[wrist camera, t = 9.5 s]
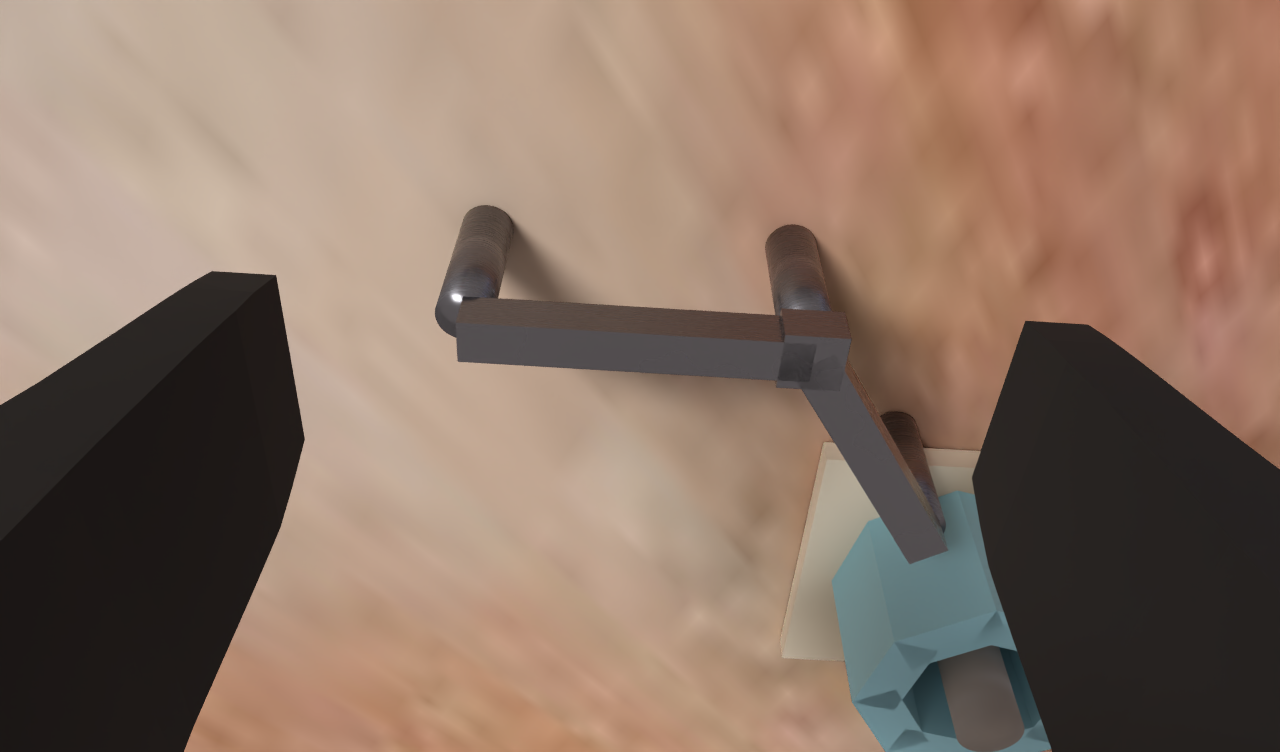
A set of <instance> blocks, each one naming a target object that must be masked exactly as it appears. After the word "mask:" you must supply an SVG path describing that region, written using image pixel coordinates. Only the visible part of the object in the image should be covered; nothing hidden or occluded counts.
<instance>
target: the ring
mask: <svg viewBox="0 0 1280 752" xmlns="http://www.w3.org/2000/svg"><path fill="white" fill-rule="evenodd" d="M938 499H939V502H940V505H941V509H942V512H943V515H944V519H945V522H946V529H945V532H944V533H943V534H944V538H945V541H946V544H947V548H948V551H946V552H943V553H940V554H937V555H934V556H932V557H929V558H926V559H923V560H920V561H917V562H915V563H912V564H909V563H908V561H907V560H906V558H905V556H904V555H903V553H902V552H901V550H900V548H899V547H898V545H897V543H896V542H895V540H894V539H893V537H892V535H891V534H890V532H889V530H888V529H887V527H886V526H885V524H884V522H883V521H882V519H881V517H879V518H876V519H873V520H870V521H868V522H867V524H866V525H865V527H864V529H863V530H862V532H861V534H860V535H859V537H858V538H857V540H856V542H855V543H854V545H853V547H852V548H851V550H850V551H849V553H848V555H847V556H846V558H845V560H844V561H843V563H842V565H841V566H840V568H839V569H838V571H837V573H836V574H835V576H834V578H833V579H832V587H833V593H834V599H835V605H836V610H837V616H838V622H839V628H840V634H841V640H842V646H843V652H844V658H845V664H846V669H847V675H848V681H849V687H850V693H851V699H852V703H853V704H854V706H855V707H856V709H857V710H858V712H859V713H860V715H861V716H862V718H863V719H864V721H865V722H866V724H867V725H868V726H869V728H870V729H871V731H872V732H873V734H874V735H875V737H876V738H877V740H878V741H879V743H880V744H881V746H882V747H883V749H884V750H885V752H976V751H972V750H969V749H966V748H964V747H963V746H961V745H960V744H959V742H958V741H957V738H956V734H955V730H954V726H953V722H952V718H951V714H950V710H949V706H948V702H947V698H946V695H945V691H944V687H943V683H942V679H941V675H940V671H939V667H938V663H937V661H939V660H943V659H946V658H949V657H953V656H956V655H960V654H963V653H966V652H970V651H973V650H976V649H980V648H983V647H987V646H990V645H993V646H997V647H999V648H1000V652H1001V655H1002V658H1003V661H1004V664H1005V667H1006V671H1007V674H1008V677H1009V680H1010V683H1011V686H1012V690H1013V693H1014V696H1015V699H1016V702H1017V705H1018V708H1019V712H1020V715H1021V718H1022V721H1023V724H1024V729H1025V730H1024V734H1023V736H1022V737H1021V739H1020V740H1019V741H1018V742H1016V743H1015V744H1013V745H1012V746H1010V747H1008V748H1005V749H1002V750H999V751H993V752H1041V751H1045V750H1049V749H1051V746H1050V743H1049V741H1048V738H1047V735H1046V732H1045V729H1044V726H1043V723H1042V721H1041V718H1040V715H1039V712H1038V709H1037V706H1036V703H1035V701H1034V698H1033V695H1032V692H1031V689H1030V686H1029V684H1028V681H1027V678H1026V675H1025V672H1024V669H1023V666H1022V664H1021V661H1020V658H1019V655H1018V652H1017V649H1016V646H1015V644H1014V641H1013V638H1012V635H1011V632H1010V629H1009V626H1008V623H1007V620H1006V617H1005V614H1004V611H1003V609H1002V606H1001V603H1000V600H999V597H998V594H997V591H996V588H995V585H994V582H993V579H992V576H991V572H990V569H989V566H988V561H987V557H986V552H985V547H984V542H983V538H982V533H981V528H980V523H979V517H978V511H977V505H976V500H975V495H974V494H970V493H966V492H962V491H958V490H957V491H954V492H952V493H949V494H946V495H943V496H940V497H938Z"/></svg>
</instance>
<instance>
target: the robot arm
mask: <svg viewBox="0 0 1280 752" xmlns="http://www.w3.org/2000/svg"><path fill="white" fill-rule="evenodd" d="M304 440H305V438H304V432H303V427H302V421H301V415H300V409H299V404H298V398H297V392H296V387H295V381H294V375H293V369H292V364H291V358H290V352H289V346H288V341H287V335H286V329H285V324H284V318H283V312H282V306H281V301H280V295H279V289H278V284H277V278H276V275H264V274H248V273H232V272H215V271H212V272H210V273H208V274H206V275H204V276H203V277H201V278H199V279H197V280H195V281H194V282H192V283H190V284H189V285H187V286H185V287H184V288H182V289H181V290H179V291H177V292H176V293H174V294H173V295H171V296H170V297H168V298H167V299H165V300H164V301H162V302H160V303H159V304H157V305H156V306H154V307H153V308H151V309H150V310H148V311H147V312H145V313H144V314H142V315H141V316H139V317H138V318H136V319H135V320H133V321H132V322H130V323H129V324H127V325H126V326H124V327H123V328H121V329H120V330H118V331H117V332H115V333H114V334H112V335H111V336H109V337H108V338H106V339H104V340H103V341H101V342H100V343H98V344H97V345H95V346H94V347H92V348H91V349H89V350H88V351H86V352H85V353H83V354H81V355H80V356H78V357H77V358H75V359H74V360H72V361H71V362H69V363H68V364H66V365H65V366H63V367H62V368H60V369H58V370H57V371H55V372H54V373H52V374H51V375H49V376H48V377H46V378H45V379H43V380H41V381H40V382H38V383H37V384H35V385H33V386H32V387H30V388H28V389H27V390H25V391H23V392H22V393H20V394H18V395H17V396H15V397H13V398H12V399H10V400H8V401H7V402H5V403H3V404H2V405H0V752H184V750H185V747H186V745H187V742H188V739H189V737H190V734H191V732H192V729H193V727H194V724H195V722H196V720H197V717H198V715H199V713H200V711H201V708H202V706H203V704H204V702H205V699H206V697H207V695H208V692H209V690H210V688H211V686H212V683H213V681H214V679H215V677H216V674H217V672H218V670H219V668H220V665H221V663H222V661H223V658H224V656H225V654H226V652H227V649H228V647H229V645H230V643H231V640H232V638H233V636H234V634H235V631H236V629H237V627H238V624H239V622H240V620H241V618H242V615H243V613H244V611H245V609H246V606H247V604H248V602H249V600H250V597H251V595H252V593H253V590H254V588H255V586H256V583H257V581H258V579H259V576H260V574H261V572H262V569H263V567H264V565H265V563H266V560H267V558H268V556H269V553H270V551H271V549H272V546H273V544H274V541H275V539H276V537H277V534H278V532H279V529H280V527H281V524H282V520H283V517H284V513H285V510H286V507H287V503H288V500H289V496H290V493H291V489H292V486H293V482H294V478H295V474H296V471H297V467H298V463H299V459H300V455H301V452H302V448H303V444H304ZM972 482H973V488H974V494H975V500H976V505H977V511H978V517H979V523H980V528H981V533H982V538H983V542H984V547H985V552H986V557H987V561H988V566H989V569H990V572H991V576H992V579H993V582H994V585H995V588H996V591H997V594H998V597H999V600H1000V603H1001V606H1002V609H1003V611H1004V614H1005V617H1006V620H1007V623H1008V626H1009V629H1010V632H1011V635H1012V638H1013V641H1014V644H1015V646H1016V649H1017V652H1018V655H1019V658H1020V661H1021V664H1022V666H1023V669H1024V672H1025V675H1026V678H1027V681H1028V684H1029V686H1030V689H1031V692H1032V695H1033V698H1034V701H1035V703H1036V706H1037V709H1038V712H1039V715H1040V718H1041V721H1042V723H1043V726H1044V729H1045V732H1046V735H1047V738H1048V741H1049V743H1050V746H1051V749H1052V752H1280V469H1278V468H1277V467H1276V466H1274V465H1273V464H1272V463H1270V462H1269V461H1268V460H1266V459H1265V458H1264V457H1262V456H1261V455H1260V454H1258V453H1257V452H1256V451H1254V450H1253V449H1252V448H1250V447H1249V446H1248V445H1247V444H1245V443H1244V442H1243V441H1241V440H1240V439H1239V438H1237V437H1236V436H1235V435H1234V434H1232V433H1231V432H1230V431H1228V430H1227V429H1226V428H1224V427H1223V426H1222V425H1221V424H1219V423H1218V422H1217V421H1215V420H1214V419H1213V418H1212V417H1210V416H1209V415H1208V414H1206V413H1205V412H1204V411H1203V410H1201V409H1200V408H1199V407H1198V406H1196V405H1195V404H1194V403H1192V402H1191V401H1190V400H1189V399H1187V398H1186V397H1185V396H1184V395H1182V394H1181V393H1180V392H1178V391H1177V390H1176V389H1175V388H1173V387H1172V386H1171V385H1170V384H1168V383H1167V382H1166V381H1164V380H1163V379H1162V378H1161V377H1159V376H1158V375H1157V374H1155V373H1154V372H1153V371H1152V370H1150V369H1149V368H1148V367H1146V366H1145V365H1144V364H1143V363H1141V362H1140V361H1139V360H1137V359H1136V358H1135V357H1133V356H1132V355H1131V354H1129V353H1128V352H1127V351H1125V350H1124V349H1123V348H1121V347H1120V346H1119V345H1117V344H1116V343H1115V342H1113V341H1112V340H1110V339H1109V338H1107V337H1106V336H1105V335H1103V334H1102V333H1100V332H1099V331H1097V330H1095V329H1094V328H1092V327H1091V326H1089V325H1084V324H1068V323H1051V322H1035V321H1025V324H1024V327H1023V329H1022V332H1021V335H1020V338H1019V341H1018V344H1017V347H1016V350H1015V353H1014V356H1013V359H1012V362H1011V364H1010V367H1009V370H1008V373H1007V376H1006V379H1005V382H1004V385H1003V388H1002V391H1001V394H1000V397H999V399H998V402H997V405H996V408H995V411H994V414H993V417H992V420H991V423H990V426H989V429H988V432H987V434H986V437H985V440H984V443H983V446H982V449H981V452H980V455H979V458H978V461H977V464H976V466H975V469H974V472H973V475H972Z"/></svg>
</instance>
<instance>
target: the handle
mask: <svg viewBox="0 0 1280 752" xmlns="http://www.w3.org/2000/svg"><path fill="white" fill-rule="evenodd" d="M512 235H513V225H512V222H511V220H510V218H509V217H508V215H507V214H506V213H505V212H503V211H502V210H500V209H499V208H496V207H494V206H488V205H482V206H477V207H475V208H473V209H471V210H470V211H469V212H468V213H467V214H466V215H465V217H464V219H463V222H462V226H461V229H460V232H459V235H458V238H457V241H456V245H455V248H454V251H453V254H452V257H451V261H450V264H449V267H448V270H447V273H446V276H445V280H444V283H443V286H442V289H441V292H440V296H439V299H438V302H437V305H436V309H435V317H436V320H437V322H438V324H439V326H440V327H441V328H442V329H443V330H444V331H445V332H446V333H448V334H449V335H451V336H453V337H456V338H457V356H458V362H473V363H490V364H507V365H524V366H541V367H557V368H574V369H591V370H608V371H625V372H642V373H659V374H675V375H692V376H709V377H726V378H743V379H760V380H775V383H776V387H777V388H793V389H802V391H803V392H804V394H805V396H806V397H807V399H808V400H809V402H810V404H811V405H812V407H813V409H814V410H815V412H816V413H817V415H818V417H819V418H820V420H821V422H822V423H823V425H824V426H825V428H826V430H827V431H828V433H829V435H830V436H831V438H832V439H833V441H834V443H835V444H836V446H837V448H838V449H839V451H840V452H841V454H842V456H843V457H844V459H845V461H846V462H847V464H848V465H849V467H850V469H851V470H852V472H853V474H854V475H855V477H856V478H857V480H858V482H859V483H860V485H861V487H862V488H863V490H864V491H865V493H866V495H867V496H868V498H869V500H870V501H871V503H872V504H873V506H874V508H875V509H876V511H877V513H878V514H879V516H880V517H881V519H882V521H883V522H884V524H885V526H886V527H887V529H888V530H889V532H890V534H891V535H892V537H893V539H894V540H895V542H896V543H897V545H898V547H899V548H900V550H901V552H902V553H903V555H904V556H905V558H906V560H907V561H908V563H909V564H912V563H915V562H917V561H920V560H923V559H926V558H929V557H932V556H934V555H937V554H940V553H943V552H946V551H948V548H947V544H946V541H945V538H944V534H943V533H944V532H945V529H946V522H945V519H944V515H943V512H942V509H941V505H940V502H939V499H938V495H937V492H936V489H935V486H934V482H933V479H932V476H931V472H930V469H929V466H928V462H927V459H926V456H925V452H924V449H923V446H922V442H921V439H920V436H919V433H918V429H917V426H916V423H915V420H914V419H913V418H912V417H911V416H910V415H908V414H906V413H903V412H890V413H887V414H884V415H882V416H879V414H878V412H877V410H876V409H875V407H874V405H873V403H872V402H871V400H870V398H869V396H868V395H867V393H866V391H865V389H864V388H863V386H862V384H861V382H860V381H859V379H858V377H857V375H856V374H855V372H854V370H853V368H852V367H851V365H850V363H849V361H848V360H847V357H848V353H849V348H850V344H851V335H850V331H849V327H848V323H847V319H846V315H845V312H833V311H832V309H831V305H830V301H829V296H828V292H827V288H826V284H825V279H824V275H823V271H822V266H821V262H820V258H819V253H818V249H817V245H816V241H815V238H814V236H813V234H812V233H811V232H810V231H809V230H808V229H807V228H805V227H803V226H799V225H786V226H782V227H780V228H778V229H776V230H775V231H774V232H773V233H772V234H771V235H770V236H769V238H768V239H767V242H766V246H765V250H766V257H767V264H768V270H769V277H770V283H771V290H772V296H773V303H774V309H775V315H762V314H746V313H729V312H713V311H696V310H680V309H663V308H647V307H630V306H614V305H597V304H581V303H565V302H548V301H532V300H515V299H499V298H498V296H499V291H500V287H501V283H502V278H503V274H504V270H505V265H506V261H507V257H508V252H509V248H510V244H511V239H512Z"/></svg>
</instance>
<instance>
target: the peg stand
mask: <svg viewBox="0 0 1280 752" xmlns="http://www.w3.org/2000/svg"><path fill="white" fill-rule="evenodd" d="M923 449H924V452H925V456H926V459H927V462H928V466H929V469H930V472H931V476H932V479H933V482H934V486H935V489H936V492H937V495H938V497H940V496H943V495H946V494H949V493H952V492H954V491H957V490H958V491H962V492H966V493H970V494H974V488H973V482H972V475H973V472H974V469H975V466H976V464H977V461H978V458H979V455H980V452H981V451H970V450H952V449H935V448H923ZM974 495H975V494H974ZM879 517H880V516H879V514H878V513H877V511H876V509H875V508H874V506H873V504H872V503H871V501H870V500H869V498H868V496H867V495H866V493H865V491H864V490H863V488H862V487H861V485H860V483H859V482H858V480H857V478H856V477H855V475H854V474H853V472H852V470H851V469H850V467H849V465H848V464H847V462H846V461H845V459H844V457H843V456H842V454H841V452H840V451H839V449H838V448H837V446H836V444H835V443H832V442H824V443H823V447H822V452H821V456H820V461H819V465H818V470H817V474H816V479H815V484H814V488H813V493H812V497H811V502H810V506H809V511H808V515H807V520H806V524H805V529H804V533H803V538H802V542H801V547H800V551H799V556H798V561H797V565H796V570H795V574H794V579H793V583H792V588H791V592H790V597H789V601H788V606H787V610H786V615H785V619H784V624H783V628H782V633H781V638H780V644H781V653H782V658H791V659H810V660H828V661H845V658H844V652H843V646H842V640H841V634H840V628H839V622H838V616H837V610H836V605H835V599H834V593H833V587H832V579H833V578H834V576H835V574H836V573H837V571H838V569H839V568H840V566H841V565H842V563H843V561H844V560H845V558H846V556H847V555H848V553H849V551H850V550H851V548H852V547H853V545H854V543H855V542H856V540H857V538H858V537H859V535H860V534H861V532H862V530H863V529H864V527H865V525H866V524H867V522H868V521H870V520H873V519H876V518H879ZM937 663H938V667H939V671H940V675H941V679H942V683H943V687H944V691H945V695H946V698H947V702H948V706H949V710H950V714H951V718H952V722H953V726H954V730H955V734H956V738H957V741H958V742H959V744H960V745H961V746H963V747H964V748H966V749H969V750H972V751H976V752H993V751H999V750H1002V749H1005V748H1008V747H1010V746H1012V745H1013V744H1015V743H1016V742H1018V741H1019V740H1020V739H1021V737H1022V736H1023V734H1024V730H1025V729H1024V724H1023V721H1022V718H1021V715H1020V712H1019V708H1018V705H1017V702H1016V699H1015V696H1014V693H1013V690H1012V686H1011V683H1010V680H1009V677H1008V674H1007V671H1006V667H1005V664H1004V661H1003V658H1002V655H1001V652H1000V648H999V647H997V646H993V645H990V646H987V647H983V648H980V649H976V650H973V651H970V652H966V653H963V654H960V655H956V656H953V657H949V658H946V659H943V660H939V661H937Z"/></svg>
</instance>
